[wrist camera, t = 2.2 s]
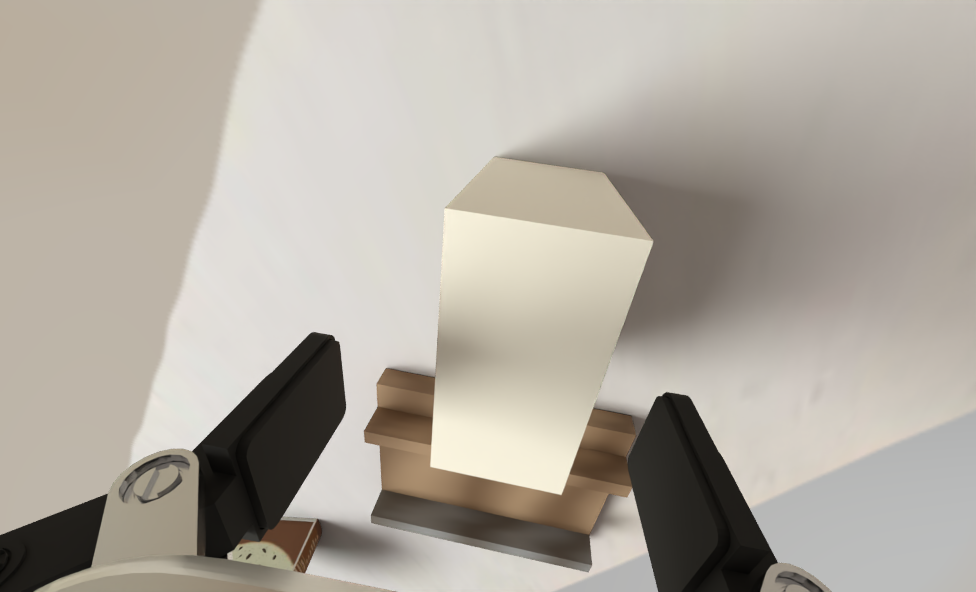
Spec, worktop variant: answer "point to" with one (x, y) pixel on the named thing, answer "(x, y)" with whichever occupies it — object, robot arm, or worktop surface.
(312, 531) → the food container
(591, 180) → the box
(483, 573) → the worktop surface
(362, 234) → the worktop surface
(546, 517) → the shelf
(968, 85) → the worktop surface
